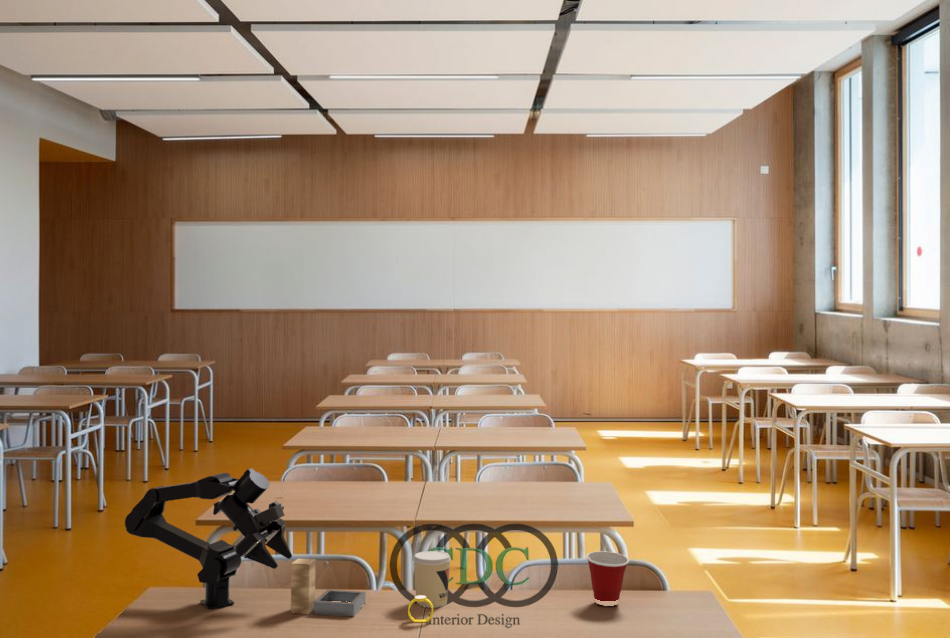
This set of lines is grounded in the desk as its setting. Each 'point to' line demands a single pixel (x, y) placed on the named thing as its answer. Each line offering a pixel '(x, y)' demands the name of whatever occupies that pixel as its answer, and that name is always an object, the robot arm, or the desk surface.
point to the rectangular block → (303, 585)
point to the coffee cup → (432, 577)
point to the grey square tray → (339, 603)
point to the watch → (419, 599)
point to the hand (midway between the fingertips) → (283, 562)
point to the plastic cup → (607, 574)
